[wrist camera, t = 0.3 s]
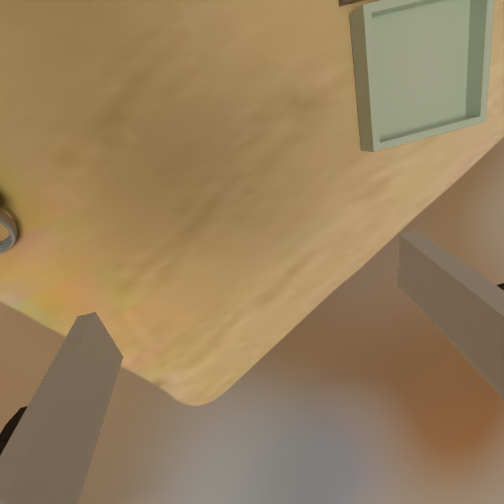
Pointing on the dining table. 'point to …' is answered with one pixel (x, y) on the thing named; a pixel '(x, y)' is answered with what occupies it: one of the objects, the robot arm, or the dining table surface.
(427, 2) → the tray
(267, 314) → the dining table surface
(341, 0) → the pulley plate
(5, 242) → the ceramic mug
